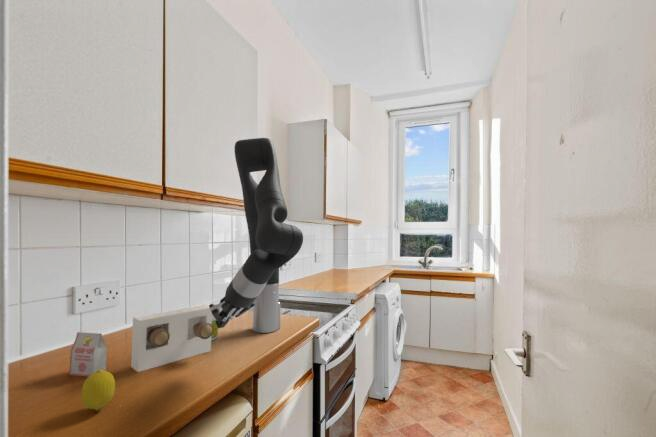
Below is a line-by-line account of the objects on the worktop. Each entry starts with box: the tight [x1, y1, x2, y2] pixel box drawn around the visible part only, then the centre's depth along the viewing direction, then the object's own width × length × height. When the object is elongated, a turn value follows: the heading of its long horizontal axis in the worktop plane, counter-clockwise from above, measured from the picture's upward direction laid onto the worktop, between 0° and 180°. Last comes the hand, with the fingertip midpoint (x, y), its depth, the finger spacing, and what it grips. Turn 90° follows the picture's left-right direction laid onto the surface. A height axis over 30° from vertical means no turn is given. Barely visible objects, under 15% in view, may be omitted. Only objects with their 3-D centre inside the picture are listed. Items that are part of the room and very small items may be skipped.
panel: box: [130, 304, 212, 373], centre depth 90 cm, size 20×5×13 cm, turn 139°
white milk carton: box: [68, 331, 108, 378], centre depth 80 cm, size 4×7×10 cm, turn 81°
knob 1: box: [148, 327, 170, 347], centre depth 85 cm, size 4×6×4 cm
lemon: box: [80, 369, 116, 412], centre depth 64 cm, size 6×6×8 cm
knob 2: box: [193, 321, 214, 339], centre depth 91 cm, size 4×6×4 cm
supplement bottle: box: [211, 315, 219, 341], centre depth 107 cm, size 5×5×10 cm
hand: (219, 325), depth 85 cm, fingers closed
